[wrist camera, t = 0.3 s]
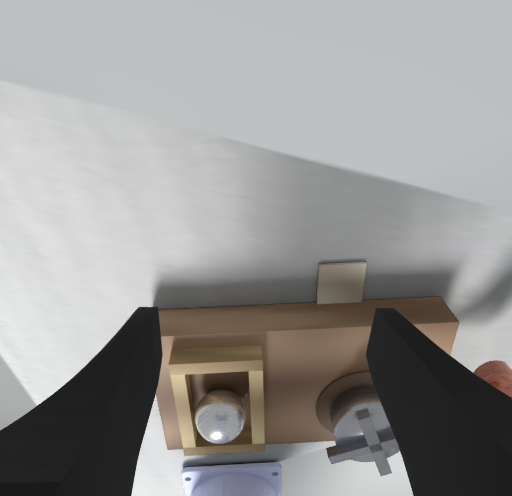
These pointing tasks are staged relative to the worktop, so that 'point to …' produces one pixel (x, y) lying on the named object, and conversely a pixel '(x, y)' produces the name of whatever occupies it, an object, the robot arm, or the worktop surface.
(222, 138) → the worktop surface
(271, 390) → the stand
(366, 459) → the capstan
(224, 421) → the level ball
